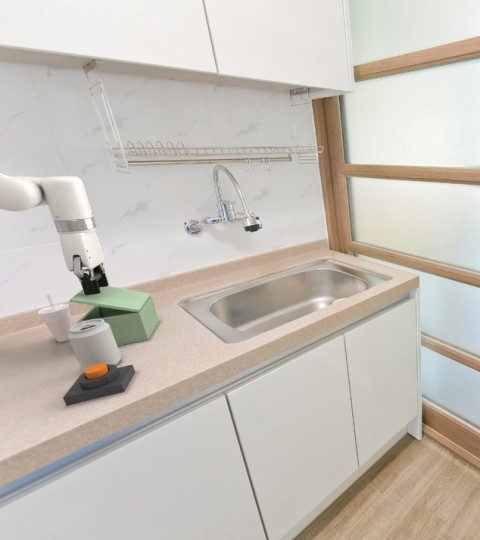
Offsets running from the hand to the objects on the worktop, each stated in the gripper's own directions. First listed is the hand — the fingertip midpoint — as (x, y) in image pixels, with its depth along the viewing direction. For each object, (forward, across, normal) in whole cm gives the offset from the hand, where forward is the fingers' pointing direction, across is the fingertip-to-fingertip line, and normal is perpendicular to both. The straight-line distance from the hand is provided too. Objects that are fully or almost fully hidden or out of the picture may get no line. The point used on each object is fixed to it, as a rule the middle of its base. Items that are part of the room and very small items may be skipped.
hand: (97, 289), depth 91 cm
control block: (+15, +27, +6) cm, 31 cm away
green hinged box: (+15, 0, +3) cm, 15 cm away
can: (+15, +16, +3) cm, 23 cm away
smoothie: (+16, -6, -13) cm, 21 cm away
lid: (+3, 0, +3) cm, 4 cm away
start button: (+12, +27, +6) cm, 30 cm away
